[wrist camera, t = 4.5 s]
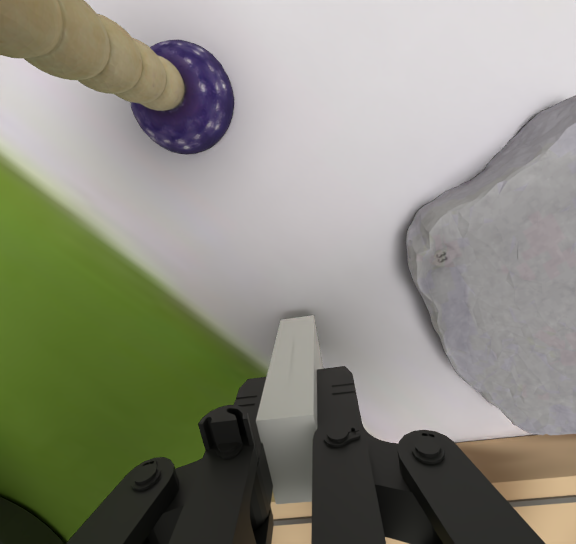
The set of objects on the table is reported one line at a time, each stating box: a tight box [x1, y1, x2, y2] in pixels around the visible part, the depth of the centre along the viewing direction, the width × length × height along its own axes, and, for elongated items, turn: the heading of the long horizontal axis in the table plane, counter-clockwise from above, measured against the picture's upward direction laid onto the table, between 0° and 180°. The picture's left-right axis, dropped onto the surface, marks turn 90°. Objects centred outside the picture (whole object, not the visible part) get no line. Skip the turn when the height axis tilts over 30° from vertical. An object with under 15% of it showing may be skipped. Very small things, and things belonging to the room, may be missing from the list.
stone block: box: [406, 96, 576, 435], centre depth 14 cm, size 12×5×10 cm
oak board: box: [270, 434, 576, 544], centre depth 17 cm, size 22×8×3 cm, turn 100°
